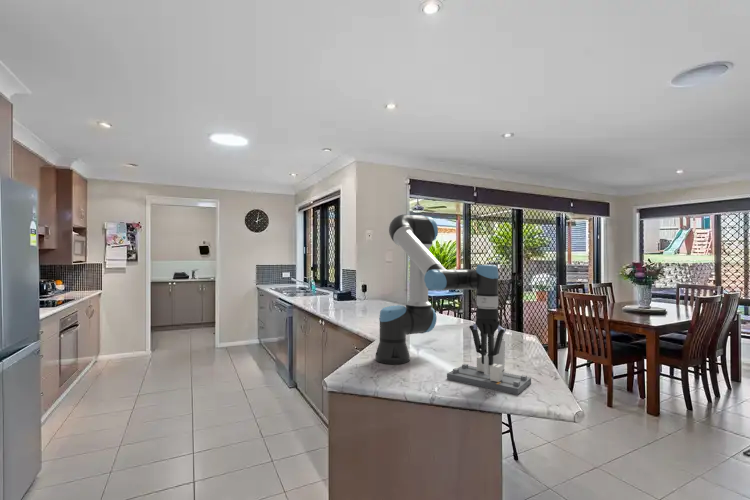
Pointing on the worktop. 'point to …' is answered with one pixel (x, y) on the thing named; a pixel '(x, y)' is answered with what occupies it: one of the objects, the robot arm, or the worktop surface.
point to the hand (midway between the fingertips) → (487, 373)
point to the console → (478, 378)
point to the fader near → (496, 372)
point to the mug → (500, 354)
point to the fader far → (480, 364)
